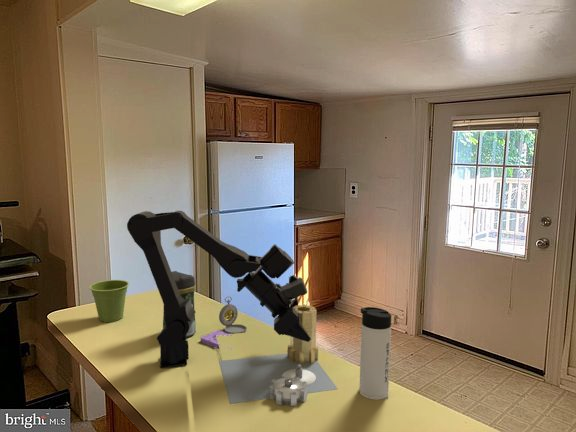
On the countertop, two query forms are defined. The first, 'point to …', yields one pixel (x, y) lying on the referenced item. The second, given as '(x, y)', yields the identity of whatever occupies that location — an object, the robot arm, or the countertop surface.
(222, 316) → the pocket watch
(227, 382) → the gear board
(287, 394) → the gear
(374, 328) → the travel mug
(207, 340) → the sponges
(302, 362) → the gear
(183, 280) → the coffee jar
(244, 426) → the countertop surface
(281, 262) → the robot arm
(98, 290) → the plant pot
